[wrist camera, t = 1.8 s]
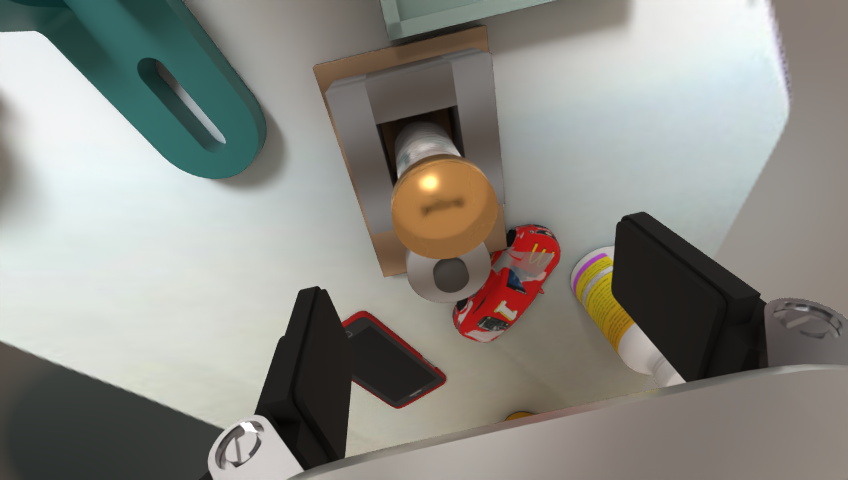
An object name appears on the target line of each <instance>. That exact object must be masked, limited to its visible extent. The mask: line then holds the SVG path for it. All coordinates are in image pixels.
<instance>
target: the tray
mask: <svg viewBox="0 0 848 480" xmlns="http://www.w3.org/2000/svg"><path fill="white" fill-rule="evenodd" d="M551 1H555V0H380V3H381V7H382V12H383V16H384V21H385V25H386V29H387V34H388V38H389V40H390V41H391V40H395V39H399V38H403V37H407V36H411V35H415V34H420V33H424V32H428V31H432V30H436V29H440V28H444V27H448V26H452V25H456V24H461V23H465V22H469V21H473V20H477V19H481V18H485V17H489V16H493V15H498V14H502V13H506V12H510V11H514V10H518V9H522V8H526V7H530V6H535V5H539V4H543V3H547V2H551Z"/></svg>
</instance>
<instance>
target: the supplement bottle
mask: <svg viewBox="0 0 848 480" xmlns="http://www.w3.org/2000/svg"><path fill="white" fill-rule="evenodd" d="M614 248H615V246H608V247H603V248H599V249H596V250H594V251H592V252H590V253H589V254H587V255H586V256H584V257H583V258H582V259H581V260H580V261H579V262H578V263H577V265H576V266H575V268H574V270H573V272H572V274H571V280H570V283H571V288H572V291H573V292H574V294H575V295H576V297H577V298H578V300H579V301H580V302H581V304H582V305H583V306H584V308H585V309H586V311H587V312H588V313H589V315H590V316H591V317H592V319H593V320H594V322H595V323H596V324H597V326H598V327H599V328H600V330H601V331H602V333H603V334H604V335H605V337H606V338H607V340H608V341H609V342H610V344H611V345H612V346H613V348H614V349H615V351H616V352H617V353H618V355H619V356H620V358H621V359H622V360H623V362H624V363H625V364H626V365H627V366H628V367H630V368H631V369H632V370H634V371H636V372H639V373H642V374H648V375H653V377H654V380H655V383H656V384H657V386H658V387H659V388H663V387H667V386H672V385H677V384H682V383H686V382H685V381H684V380H683V378H682V377H681V376H680V375H679V374H678V373H677V371H676V370H675V369H674V368H673V367H672V365H671V364H670V363H669V362H668V361H667V360H666V358H665V357H664V356H663V355H662V354H661V353H660V351H659V350H658V349H657V348H656V347H655V345H654V344H653V343H652V342H651V341H650V340H649V338H648V337H647V336H646V335H645V334H644V333H643V331H642V330H641V329H640V328H639V327H638V326H637V324H636V323H635V322H634V321H633V320H632V318H631V317H630V316H629V315H628V314H627V313H626V311H625V310H624V309H623V308H622V307H621V306H620V304H619V303H618V302H617V301H616V300H615V298H614V297H613V295H612V292H611V281H612V270H613V259H614Z"/></svg>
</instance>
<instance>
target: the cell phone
mask: <svg viewBox="0 0 848 480" xmlns="http://www.w3.org/2000/svg"><path fill="white" fill-rule="evenodd" d="M342 325H343V327H344V329H345V332H346V334H347V336H348V338H349V340H350V343H351V345H352V348H353V353H354V360H353V371H352V381H353V382H355V383H356V384H358V385H359V386H361V387H362V388H364V389H366V390H367V391H369V392H370V393H372V394H373V395H375V396H376V397H378V398H379V399H381V400H382V401H384V402H385V403H387V404H388V405H390V406H392V407H394V408H397V409H399V408H403V407H405V406H407V405H408V404H410V403H412V402H414V401H415V400H417V399H419V398H421V397H423V396H424V395H426V394H428V393H430V392H431V391H433V390H435V389H437V388H438V387H440V386H442V385H443V384H444V383H445V382H446V377H445V374H444V373H443V372H442V371H440V370H439V369H438V368H437V367H434V366H433V365H432V364H430V363H429V362H428V361H427V360H426V359H424V358H423V357H422V355H421V354H420V353H418V352H417V351H416V350H415V349H414V348H412V347H411V346H410V345H409V344H407V343H406V342H405V341H404V340H403V339H401V338H400V337H399V336H398V335H396V334H395V333H394V332H393V331H391V330H390V329H389V328H388V327H386V326H385V325H384V324H383V323H382V322H380V321H379V320H378V319H377V318H375V317H374V316H373V315H371V314H370V313H368V312H367V311H360V312H358V313H356V314H354V315H352V316H351V317H350V318H349V319H347V320H345V321H344V322H342Z"/></svg>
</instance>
